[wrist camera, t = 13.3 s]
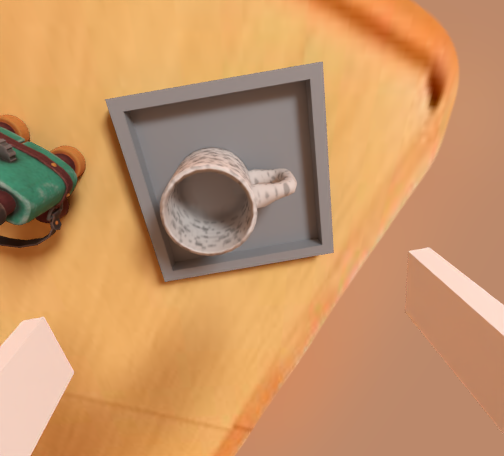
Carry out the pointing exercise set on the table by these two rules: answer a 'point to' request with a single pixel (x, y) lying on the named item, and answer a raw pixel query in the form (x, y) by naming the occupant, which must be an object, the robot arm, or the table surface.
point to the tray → (242, 145)
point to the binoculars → (34, 180)
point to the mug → (218, 200)
